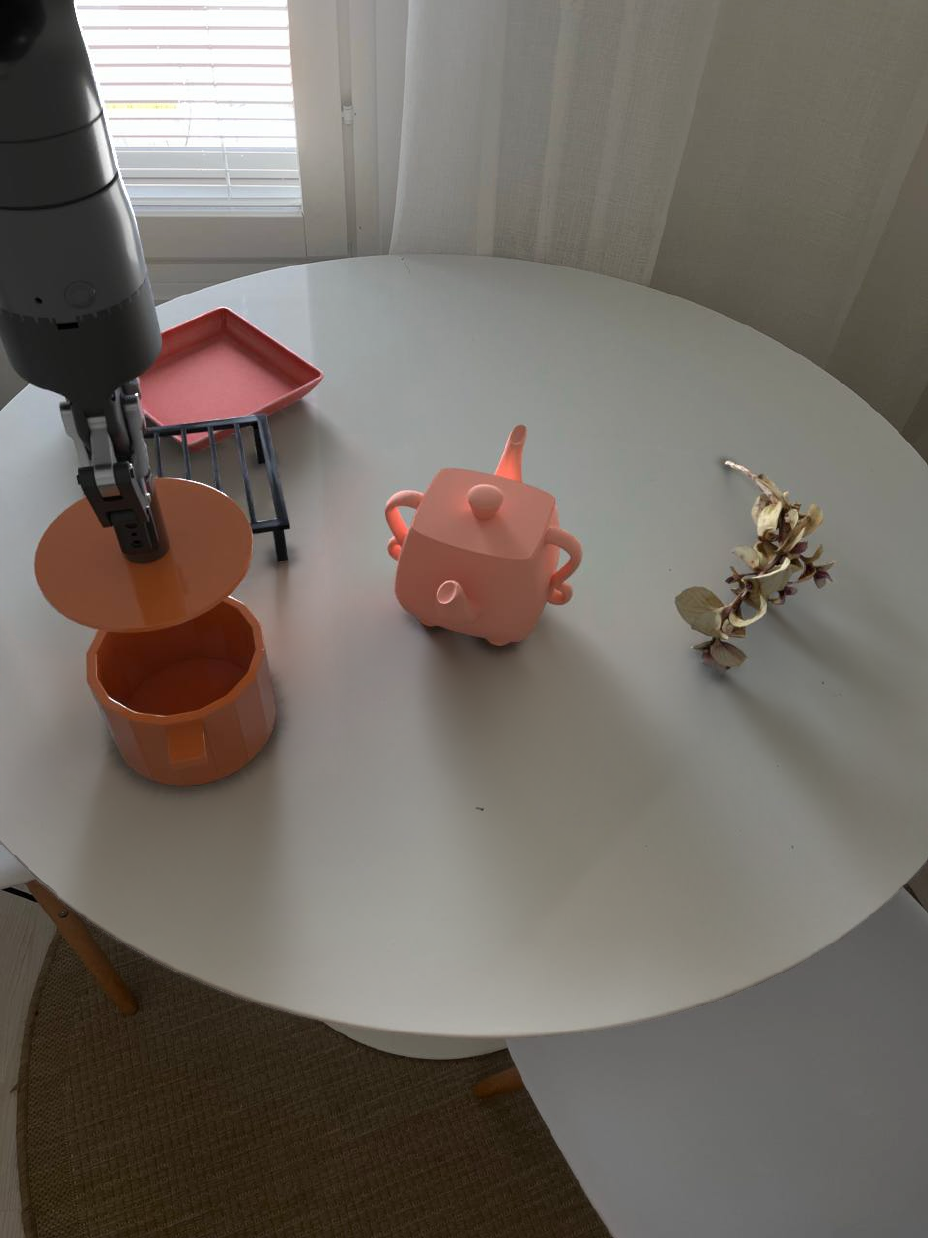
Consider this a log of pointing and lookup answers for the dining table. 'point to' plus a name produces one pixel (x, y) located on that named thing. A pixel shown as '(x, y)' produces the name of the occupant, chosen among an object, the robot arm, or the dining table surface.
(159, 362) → the plant saucer
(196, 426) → the rack
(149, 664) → the pot
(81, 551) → the lid
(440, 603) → the teapot
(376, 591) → the dining table surface
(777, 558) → the artificial flower
